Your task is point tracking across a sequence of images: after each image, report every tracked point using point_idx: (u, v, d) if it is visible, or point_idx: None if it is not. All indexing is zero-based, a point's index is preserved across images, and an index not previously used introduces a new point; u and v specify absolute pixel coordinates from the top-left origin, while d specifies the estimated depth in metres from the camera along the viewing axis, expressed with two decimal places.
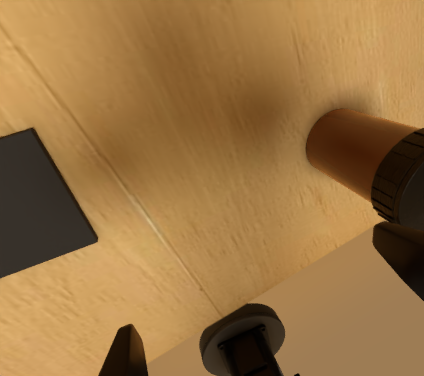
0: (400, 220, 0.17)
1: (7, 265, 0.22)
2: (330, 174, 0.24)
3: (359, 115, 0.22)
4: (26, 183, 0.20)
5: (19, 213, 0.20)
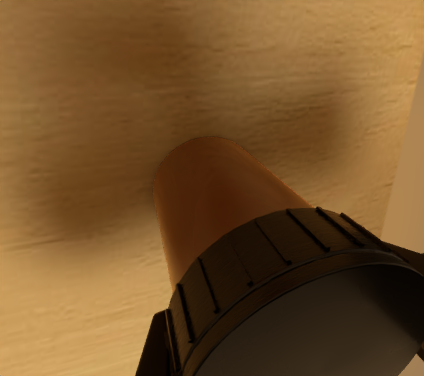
0: None
1: None
2: None
3: (158, 209, 0.12)
4: None
5: None
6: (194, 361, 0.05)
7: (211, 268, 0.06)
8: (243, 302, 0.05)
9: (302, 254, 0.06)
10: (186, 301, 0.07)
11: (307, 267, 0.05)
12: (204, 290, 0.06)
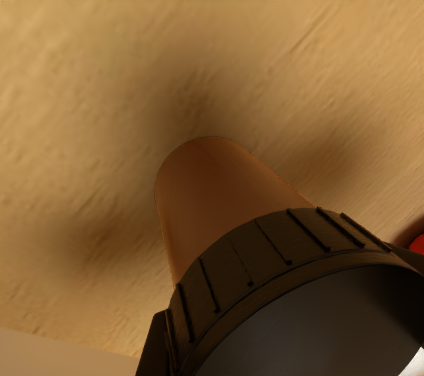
0: None
1: None
2: (168, 196, 0.12)
3: None
4: None
5: None
6: (194, 361, 0.05)
7: (211, 268, 0.06)
8: (243, 302, 0.05)
9: (302, 254, 0.06)
10: (186, 301, 0.07)
11: (307, 267, 0.05)
12: (204, 290, 0.06)
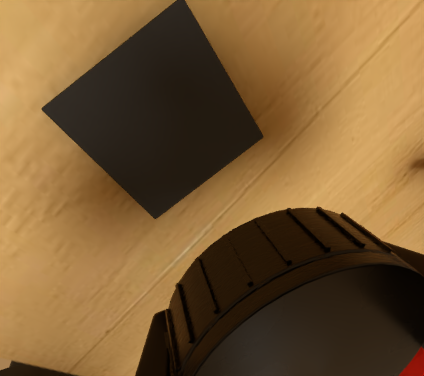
0: None
1: (95, 142, 0.17)
2: None
3: None
4: (211, 143, 0.19)
5: (175, 142, 0.19)
6: (194, 361, 0.05)
7: (211, 269, 0.06)
8: (243, 302, 0.05)
9: (303, 254, 0.06)
10: (186, 302, 0.07)
11: (307, 267, 0.05)
12: (204, 290, 0.06)
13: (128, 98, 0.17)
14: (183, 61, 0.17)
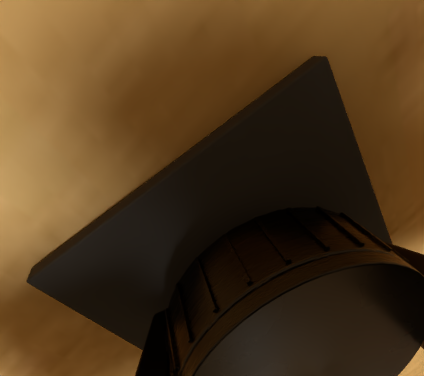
0: None
1: (130, 316, 0.09)
2: None
3: None
4: None
5: None
6: (194, 361, 0.05)
7: (211, 268, 0.06)
8: (243, 301, 0.05)
9: (302, 253, 0.06)
10: (186, 301, 0.07)
11: (307, 266, 0.05)
12: (204, 290, 0.06)
13: (196, 243, 0.09)
14: (305, 172, 0.09)
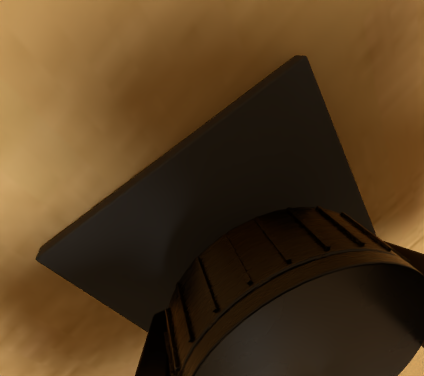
0: None
1: (129, 294, 0.10)
2: None
3: None
4: None
5: None
6: (194, 360, 0.05)
7: (211, 267, 0.06)
8: (243, 301, 0.05)
9: (302, 253, 0.06)
10: (186, 301, 0.07)
11: (307, 266, 0.05)
12: (204, 289, 0.06)
13: (189, 226, 0.09)
14: (289, 162, 0.09)
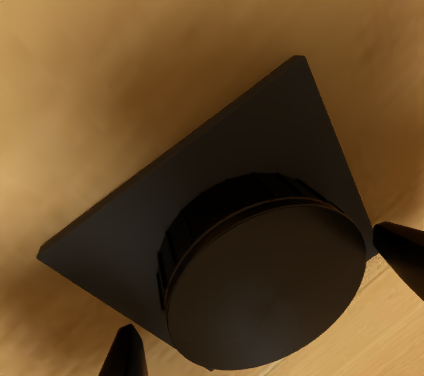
0: (280, 358, 0.10)
1: (129, 292, 0.10)
2: None
3: None
4: None
5: None
6: (176, 277, 0.07)
7: (191, 215, 0.08)
8: (211, 231, 0.07)
9: (257, 200, 0.08)
10: (172, 241, 0.09)
11: (258, 207, 0.07)
12: (185, 230, 0.08)
13: None
14: (288, 161, 0.09)
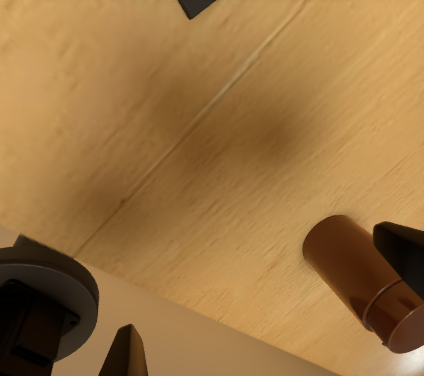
0: None
1: None
2: (332, 252, 0.24)
3: None
4: None
5: None
6: None
7: None
8: None
9: None
10: None
11: None
12: None
13: None
14: None
